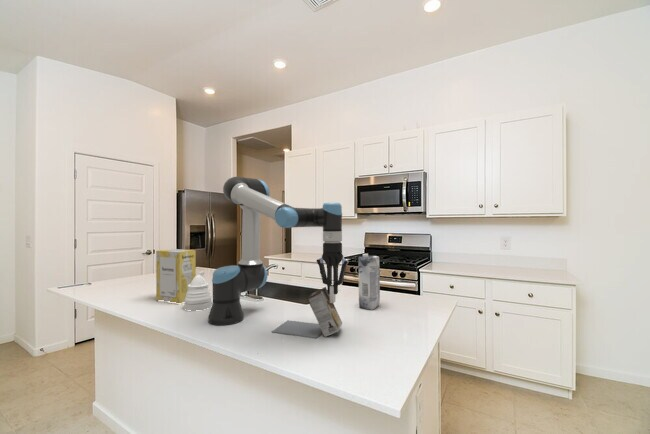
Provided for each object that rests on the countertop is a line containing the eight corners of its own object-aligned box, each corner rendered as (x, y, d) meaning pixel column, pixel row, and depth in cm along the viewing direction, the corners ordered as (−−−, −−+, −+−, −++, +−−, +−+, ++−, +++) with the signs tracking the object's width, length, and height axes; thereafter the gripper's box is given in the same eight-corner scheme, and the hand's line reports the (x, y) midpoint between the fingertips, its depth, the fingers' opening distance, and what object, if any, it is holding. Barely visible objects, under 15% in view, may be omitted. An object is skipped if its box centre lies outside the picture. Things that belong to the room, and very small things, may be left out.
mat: (271, 332, 118) (271, 331, 118) (287, 321, 131) (287, 320, 131) (316, 338, 111) (316, 337, 111) (328, 325, 124) (328, 325, 124)
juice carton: (381, 305, 153) (381, 253, 153) (373, 311, 144) (372, 255, 144) (365, 303, 158) (365, 252, 158) (356, 308, 149) (356, 254, 149)
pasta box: (156, 301, 165) (156, 250, 165) (172, 296, 175) (172, 249, 175) (179, 304, 158) (179, 252, 158) (195, 299, 168) (195, 250, 168)
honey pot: (202, 302, 161) (202, 269, 162) (216, 306, 154) (216, 271, 154) (179, 308, 151) (179, 273, 151) (193, 313, 143) (193, 275, 144)
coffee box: (328, 328, 121) (312, 292, 123) (342, 323, 120) (326, 286, 122) (324, 337, 112) (306, 298, 114) (339, 331, 111) (321, 291, 113)
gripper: (313, 242, 115) (313, 303, 115) (345, 243, 111) (346, 306, 111) (320, 241, 122) (320, 298, 122) (350, 241, 118) (351, 301, 118)
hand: (332, 302), depth 117 cm, fingers closed
